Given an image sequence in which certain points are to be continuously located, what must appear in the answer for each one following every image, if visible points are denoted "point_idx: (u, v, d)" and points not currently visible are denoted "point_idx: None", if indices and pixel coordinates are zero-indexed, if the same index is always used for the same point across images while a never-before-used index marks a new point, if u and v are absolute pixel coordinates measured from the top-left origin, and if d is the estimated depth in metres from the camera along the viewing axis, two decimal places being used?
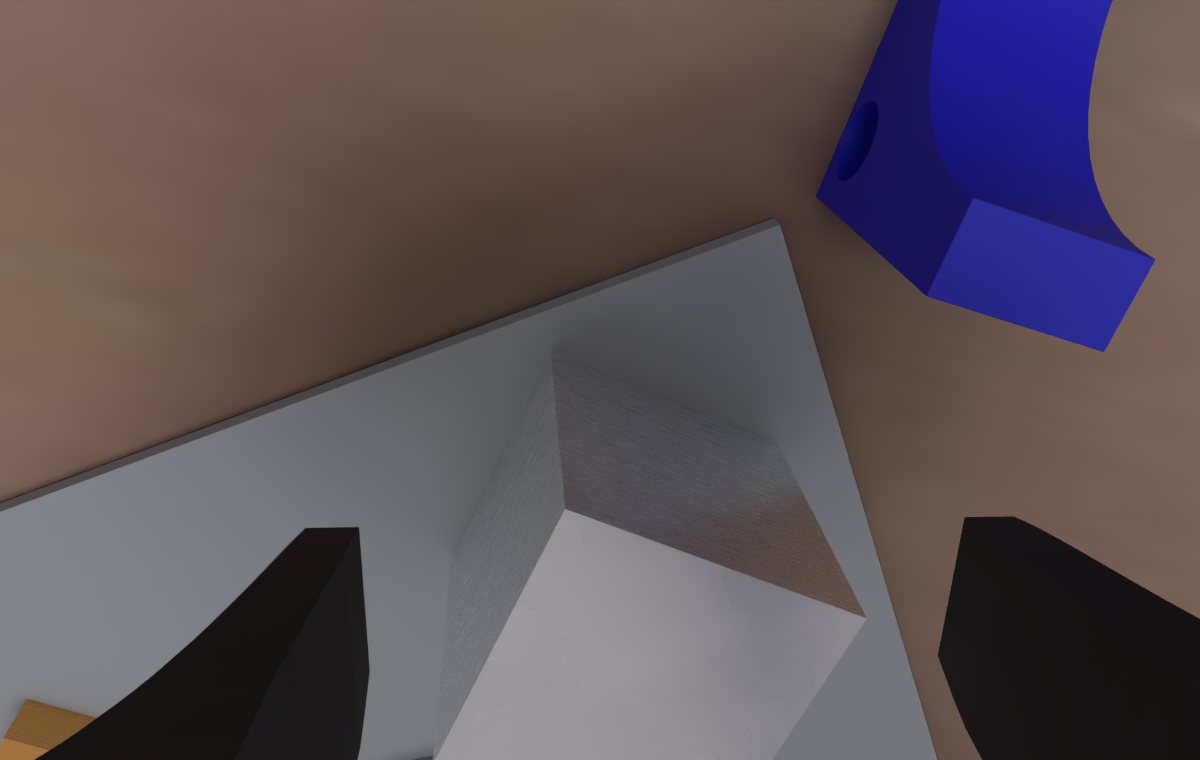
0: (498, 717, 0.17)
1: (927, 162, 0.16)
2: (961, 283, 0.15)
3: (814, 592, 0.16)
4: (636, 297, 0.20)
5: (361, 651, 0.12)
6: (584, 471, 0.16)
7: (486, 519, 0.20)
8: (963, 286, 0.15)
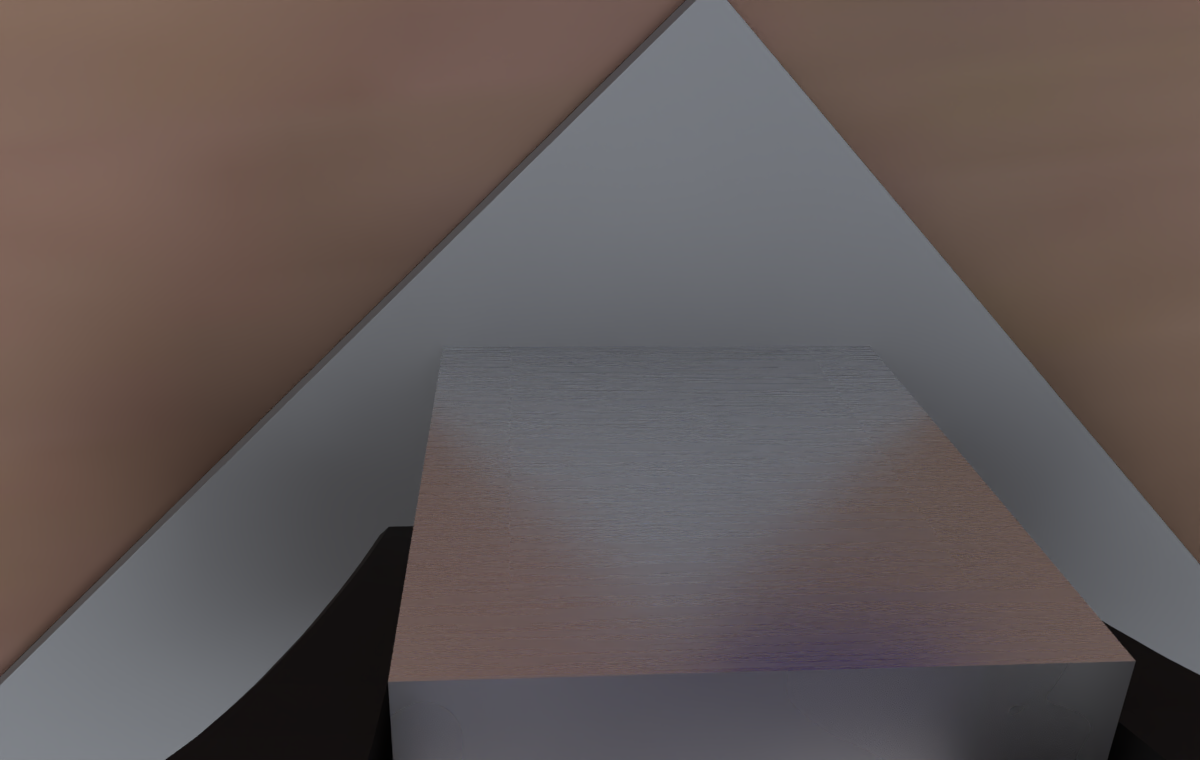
0: None
1: None
2: None
3: (1000, 644, 0.07)
4: (533, 207, 0.12)
5: None
6: (459, 562, 0.08)
7: None
8: None
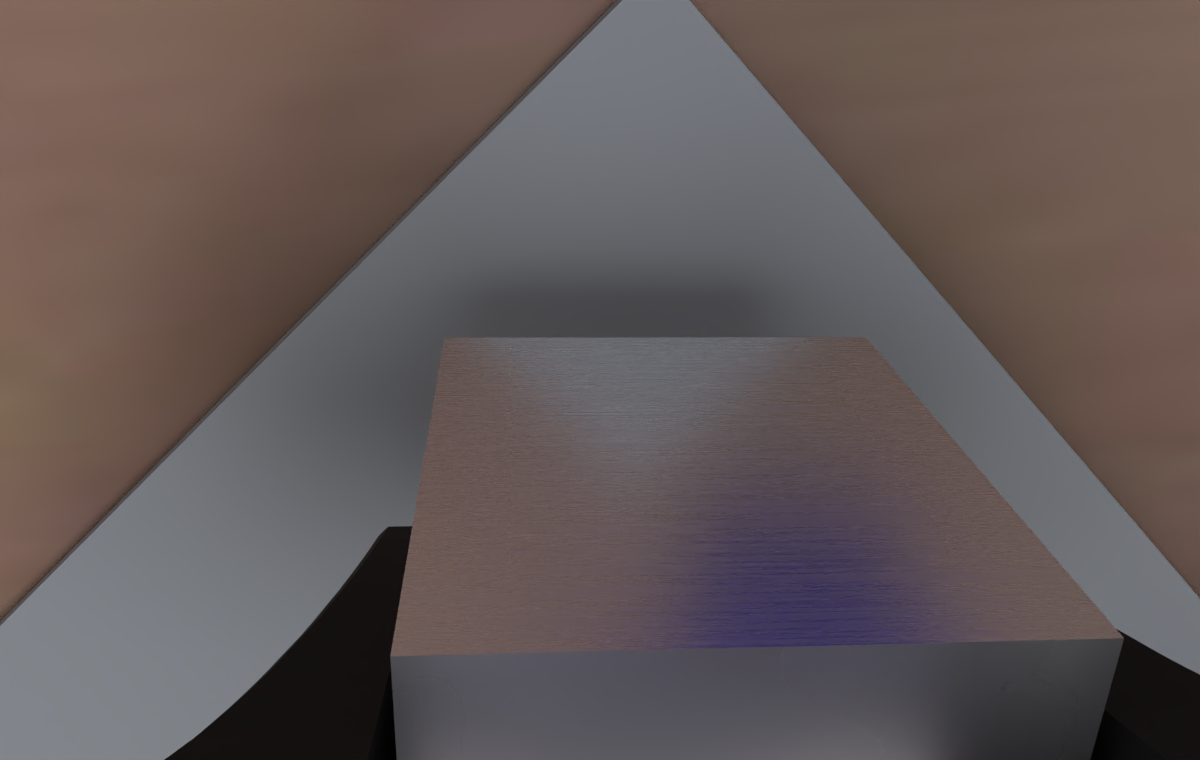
0: None
1: None
2: None
3: (990, 621, 0.08)
4: (524, 136, 0.15)
5: None
6: (460, 543, 0.08)
7: None
8: None
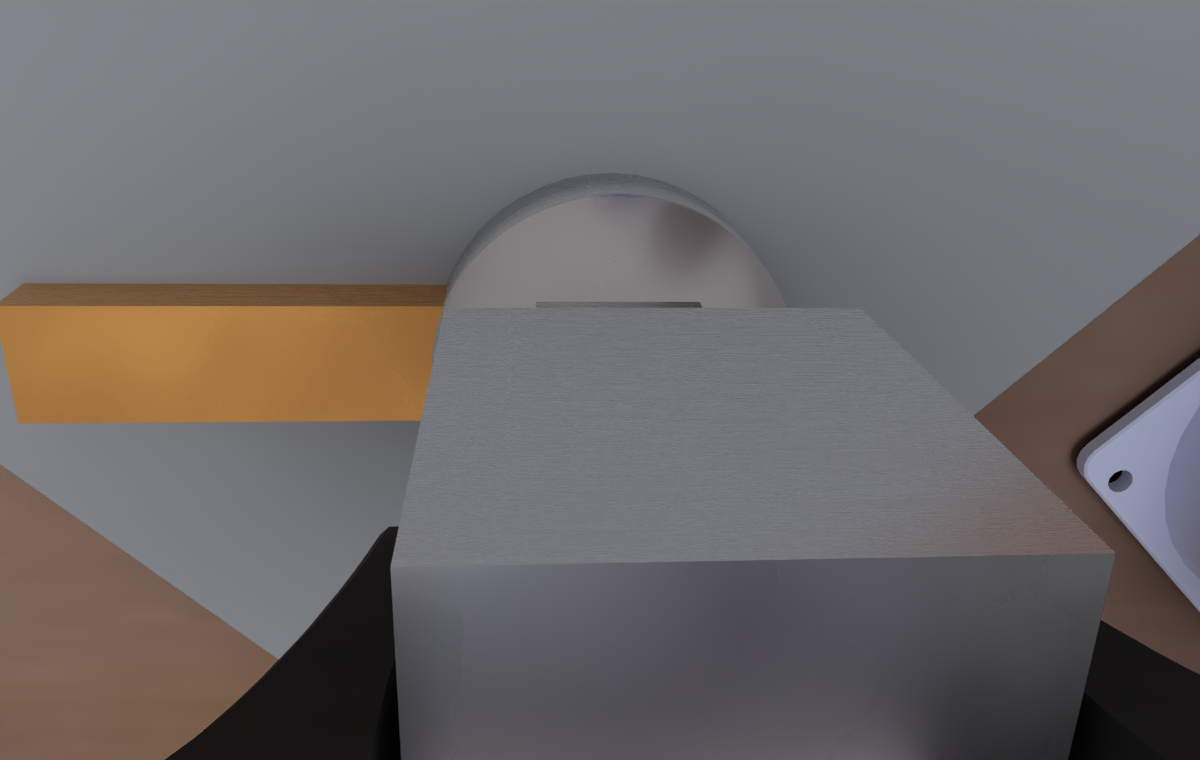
0: None
1: None
2: None
3: (984, 539, 0.08)
4: None
5: None
6: (460, 475, 0.08)
7: None
8: None
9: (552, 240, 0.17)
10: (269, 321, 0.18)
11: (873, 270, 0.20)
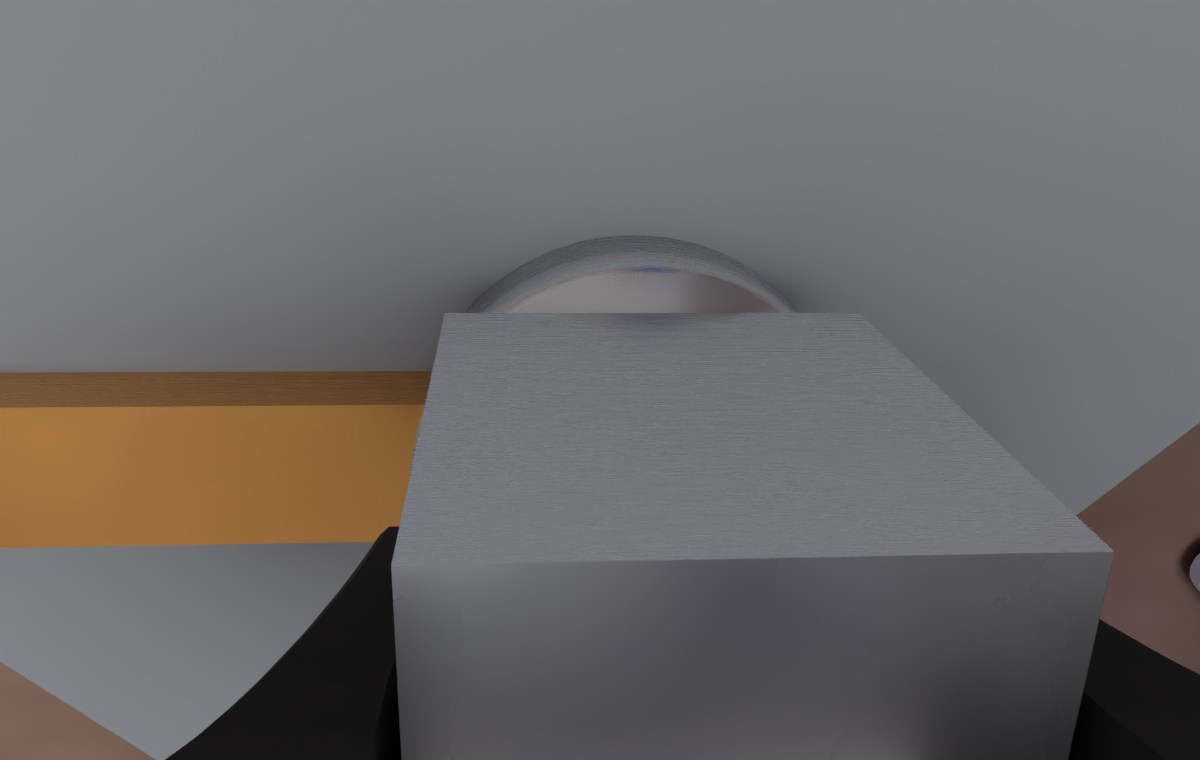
0: None
1: None
2: None
3: (983, 538, 0.08)
4: None
5: None
6: (460, 475, 0.09)
7: None
8: None
9: None
10: (205, 424, 0.14)
11: (956, 350, 0.16)
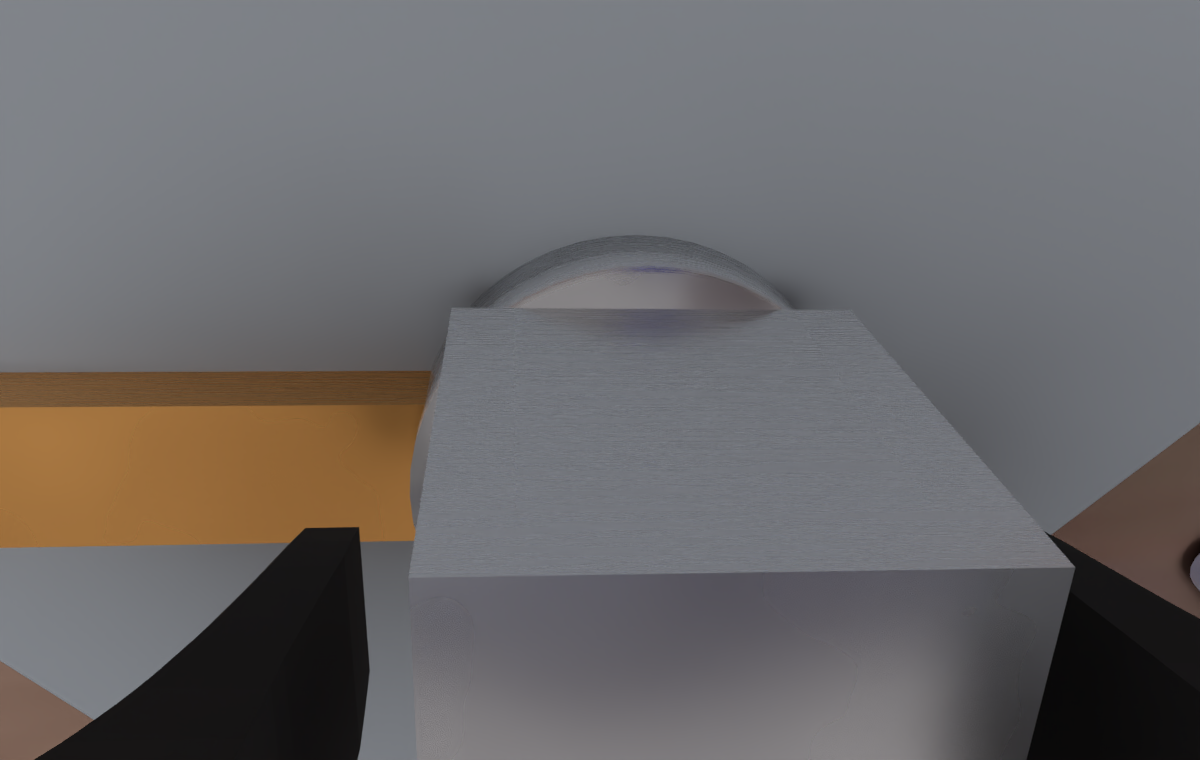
0: None
1: None
2: None
3: (955, 553, 0.08)
4: None
5: (361, 651, 0.12)
6: (470, 484, 0.09)
7: None
8: None
9: None
10: (206, 424, 0.14)
11: (956, 350, 0.16)
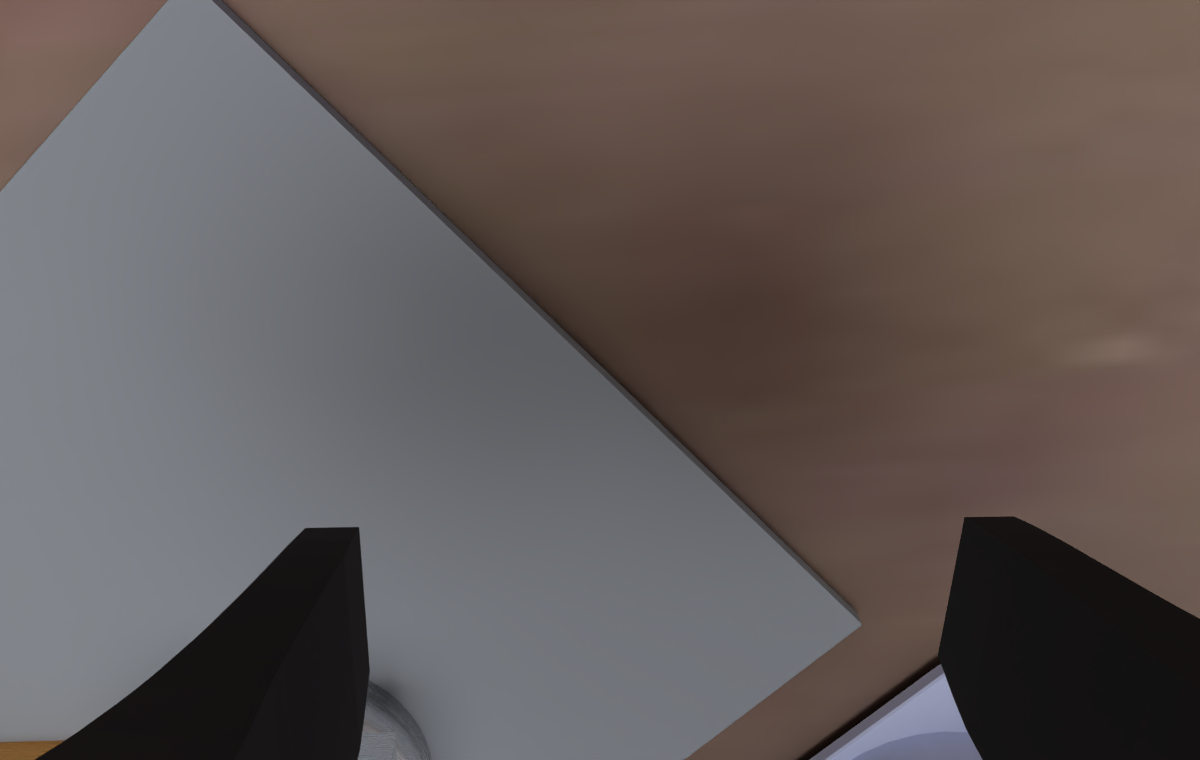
0: None
1: None
2: None
3: None
4: (94, 122, 0.18)
5: (361, 651, 0.12)
6: None
7: None
8: None
9: None
10: None
11: (509, 718, 0.24)
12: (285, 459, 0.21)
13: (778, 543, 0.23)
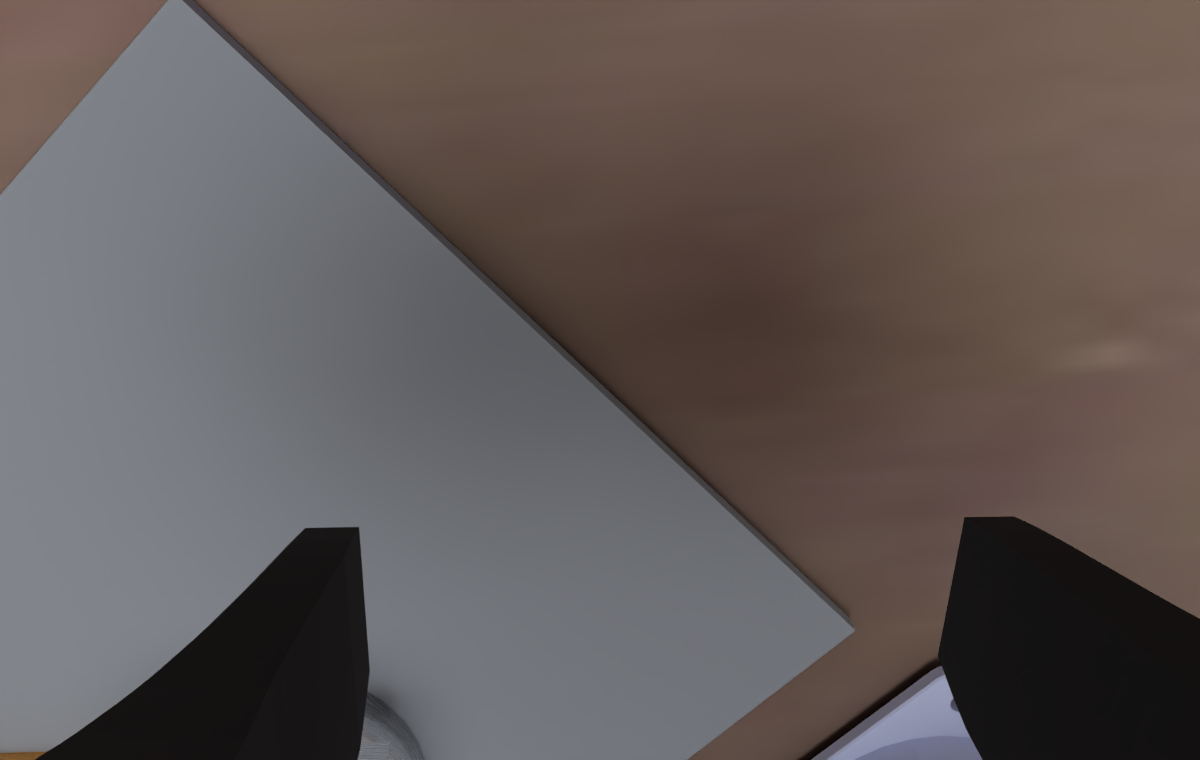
0: None
1: None
2: None
3: None
4: (82, 136, 0.18)
5: (361, 651, 0.12)
6: None
7: None
8: None
9: None
10: None
11: (504, 726, 0.24)
12: (277, 470, 0.21)
13: (770, 550, 0.23)
